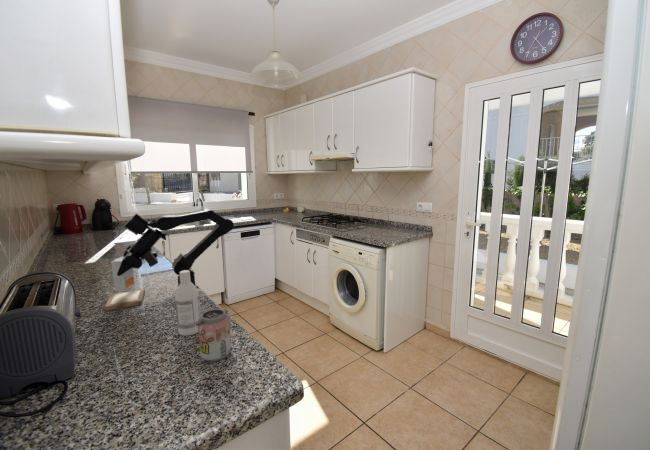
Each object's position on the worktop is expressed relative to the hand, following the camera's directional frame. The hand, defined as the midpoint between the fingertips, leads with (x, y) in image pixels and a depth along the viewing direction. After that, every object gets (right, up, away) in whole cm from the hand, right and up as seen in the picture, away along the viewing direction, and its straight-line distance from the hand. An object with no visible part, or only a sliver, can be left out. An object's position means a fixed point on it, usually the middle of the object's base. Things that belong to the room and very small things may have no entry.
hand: (118, 272), depth 120 cm
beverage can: (+51, -17, -35) cm, 64 cm away
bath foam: (+38, -16, -22) cm, 47 cm away
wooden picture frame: (+2, -12, +2) cm, 12 cm away
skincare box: (+1, -6, +2) cm, 7 cm away
